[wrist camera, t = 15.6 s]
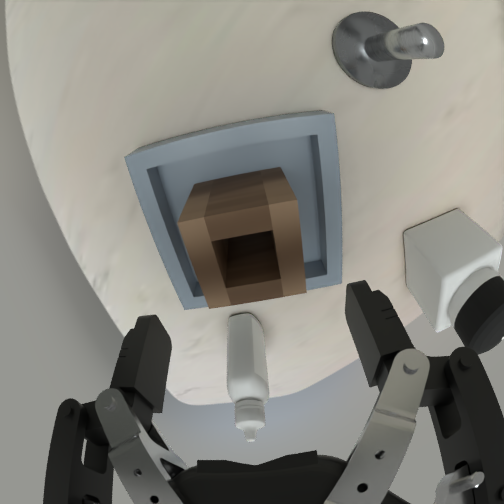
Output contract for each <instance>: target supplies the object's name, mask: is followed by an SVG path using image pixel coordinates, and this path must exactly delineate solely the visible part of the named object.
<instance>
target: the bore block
mask: <svg viewBox="0 0 504 504" xmlns="http://www.w3.org/2000/svg"><path fill="white" fill-rule="evenodd" d="M177 224H178V227H179V230H180V233H181V235H182V238H183V241H184V244H185V247H186V249H187V252H188V255H189V258H190V260H191V263H192V266H193V268H194V271H195V274H196V276H197V279H198V282H199V284H200V287H201V289H202V292H203V294H204V297H205V299H206V302H207V304H208V307H209V309H211V308H218V307H225V306H231V305H238V304H244V303H250V302H256V301H262V300H268V299H274V298H280V297H285V296H291V295H296V294H301V293H307V291H306V279H305V268H304V257H303V247H302V237H301V228H300V219H299V210H298V202H297V198H296V196H295V194H294V192H293V190H292V188H291V186H290V184H289V183H288V181H287V179H286V177H285V175H284V173H283V171H282V169H281V167H276V168H270V169H265V170H259V171H254V172H248V173H243V174H238V175H233V176H228V177H223V178H219V179H214V180H209V181H205V182H200V183H196V184H194V186H193V188H192V190H191V192H190V195H189V197H188V199H187V201H186V204H185V206H184V208H183V211H182V213H181V215H180V218H179V220H178V222H177Z"/></svg>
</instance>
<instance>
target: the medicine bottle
mask: <svg viewBox="0 0 504 504" xmlns="http://www.w3.org/2000/svg"><path fill="white" fill-rule="evenodd" d="M403 235H404V247H405V262H406V285H407V287H408V289H409V290H410V292H411V293H412V295H413V296H414V298H415V299H416V301H417V303H418V304H419V306H420V307H421V309H422V310H423V312H424V314H425V315H426V317H427V319H428V320H429V322H430V324H431V325H432V327H433V329H434V330H435V332H440V331H442V330H444V329H446V328H448V327H449V326H451V325H452V326H453V327H454V329H455V330H456V332H457V334H458V335H459V337H460V339H461V340H462V342H463V344H464V346H465V347H468V348H470V349H472V350H474V351H475V352H476V353H477V355H478V354H481V353H484V352H486V351H489V350H490V349H492V348H493V347H495V346H496V345H497V344H499V343H500V342H501V341H502V340H503V339H504V278H503V277H502V276H501V275H500V273H499V272H498V269H499V264H500V260H501V254H502V245H501V244H500V243H499V242H498V241H497V240H495V239H494V238H493V237H492V236H491V235H490V234H489V233H488V232H486V231H485V230H484V229H483V228H482V227H481V226H479V225H478V224H477V223H476V222H475V221H473V220H472V219H471V218H470V217H469V216H467V215H466V214H465V213H464V212H462V211H461V210H460V209H455V210H453V211H451V212H448V213H446V214H444V215H442V216H439V217H437V218H435V219H432V220H430V221H428V222H425V223H423V224H421V225H418V226H416V227H413V228H411V229H409V230H406V231H405V232H404V234H403Z"/></svg>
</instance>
